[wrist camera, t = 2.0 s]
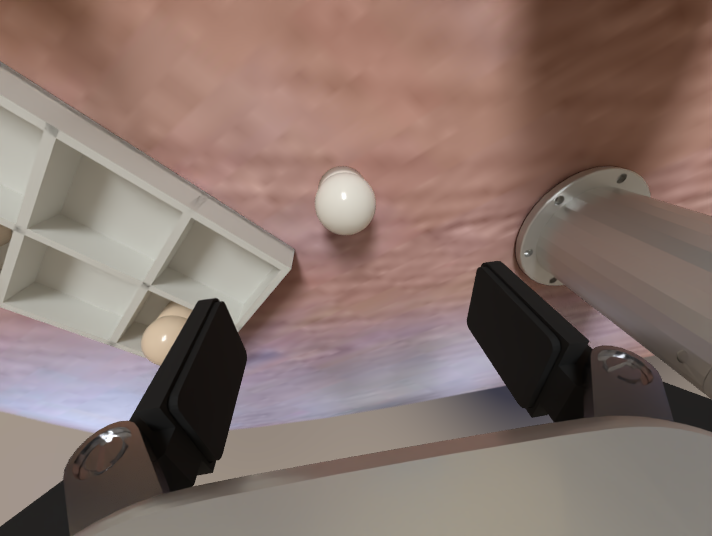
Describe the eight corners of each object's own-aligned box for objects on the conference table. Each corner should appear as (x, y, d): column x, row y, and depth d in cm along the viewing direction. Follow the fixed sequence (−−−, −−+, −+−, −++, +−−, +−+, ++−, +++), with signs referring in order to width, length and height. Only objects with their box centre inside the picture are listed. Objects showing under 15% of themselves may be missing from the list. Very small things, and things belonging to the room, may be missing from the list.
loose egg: (379, 187, 24) (394, 210, 19) (346, 226, 25) (351, 256, 20) (338, 150, 22) (343, 166, 17) (304, 195, 23) (300, 221, 19)
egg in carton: (220, 310, 28) (199, 355, 23) (200, 337, 30) (176, 383, 25) (174, 289, 26) (141, 332, 21) (155, 318, 28) (120, 365, 23)
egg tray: (294, 249, 26) (291, 268, 23) (211, 350, 32) (200, 377, 29) (-76, 12, 16) (-169, -7, 13) (-99, 227, 21) (-167, 248, 18)
